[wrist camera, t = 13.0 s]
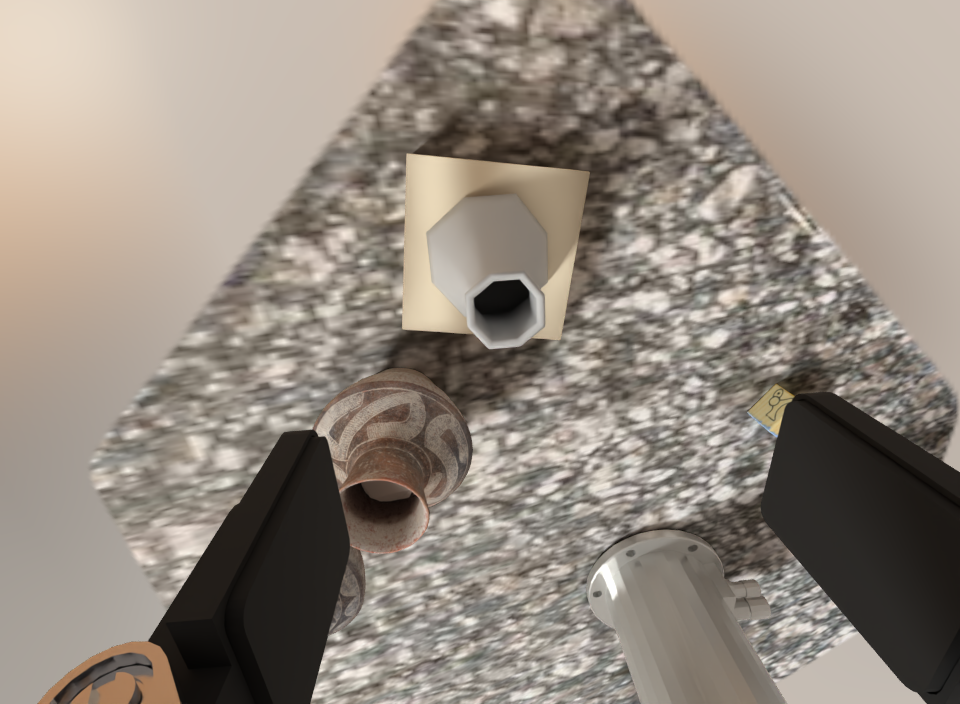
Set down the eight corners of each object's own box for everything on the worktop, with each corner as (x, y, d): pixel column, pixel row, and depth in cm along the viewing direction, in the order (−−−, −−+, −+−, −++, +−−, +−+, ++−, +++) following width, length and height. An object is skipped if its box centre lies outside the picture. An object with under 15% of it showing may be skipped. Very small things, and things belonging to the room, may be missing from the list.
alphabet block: (744, 410, 36) (768, 432, 33) (774, 381, 35) (802, 401, 32) (769, 428, 37) (795, 451, 34) (799, 400, 36) (828, 421, 33)
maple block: (572, 169, 29) (590, 171, 25) (548, 319, 33) (560, 340, 29) (413, 153, 28) (406, 153, 24) (408, 309, 32) (402, 329, 28)
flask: (456, 333, 28) (457, 418, 19) (404, 223, 26) (377, 262, 16) (565, 288, 28) (621, 355, 18) (524, 170, 25) (565, 179, 16)
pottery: (500, 388, 34) (522, 500, 23) (337, 589, 41) (295, 745, 30) (368, 306, 31) (321, 390, 20) (217, 539, 38) (123, 693, 27)
